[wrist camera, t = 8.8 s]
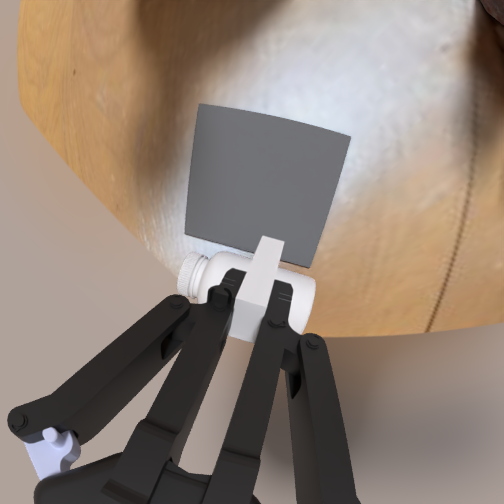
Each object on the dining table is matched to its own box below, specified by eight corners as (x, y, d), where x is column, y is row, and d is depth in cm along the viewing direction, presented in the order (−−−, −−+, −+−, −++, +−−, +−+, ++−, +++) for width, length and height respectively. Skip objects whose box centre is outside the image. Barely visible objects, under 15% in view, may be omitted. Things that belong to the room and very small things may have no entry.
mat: (350, 136, 25) (351, 136, 25) (309, 266, 34) (309, 267, 33) (200, 103, 27) (199, 103, 26) (185, 232, 35) (184, 233, 35)
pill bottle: (321, 265, 31) (195, 228, 32) (309, 332, 27) (166, 287, 28) (303, 294, 38) (199, 262, 39) (290, 350, 33) (176, 314, 34)
